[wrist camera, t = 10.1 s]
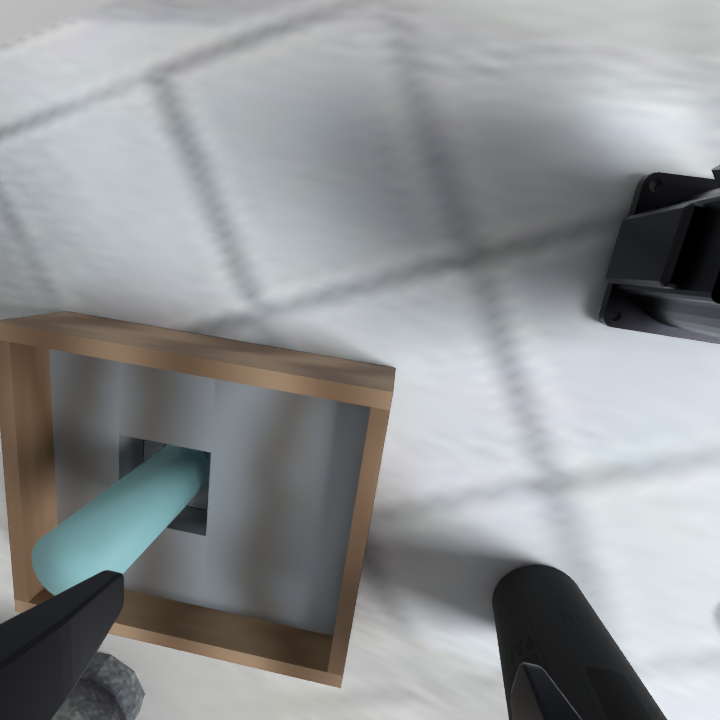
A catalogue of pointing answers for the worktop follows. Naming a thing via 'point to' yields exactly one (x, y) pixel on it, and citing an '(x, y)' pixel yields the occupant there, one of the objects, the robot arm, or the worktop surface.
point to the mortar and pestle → (103, 692)
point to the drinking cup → (566, 646)
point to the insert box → (226, 482)
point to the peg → (120, 519)
